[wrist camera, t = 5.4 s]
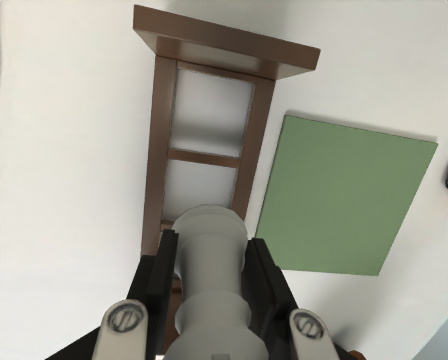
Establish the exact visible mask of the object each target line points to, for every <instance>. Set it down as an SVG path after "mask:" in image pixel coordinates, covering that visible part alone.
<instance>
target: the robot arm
mask: <svg viewBox="0 0 448 360" xmlns="http://www.w3.org/2000/svg"><path fill="white" fill-rule="evenodd" d="M178 237H179V233H175V230H173V229H164V230H163V234H162V237H161V241H160V245H159V248H158V252H157V255H156V256H155V255H142V257H141V260H140V262H139V265H138V268H137V270H136V273H135V276H134V279H133V281H132V284H131V287H130V289H129V292H128V295H127V298H126V300H122V301H120V302H117V303H115V304H114V305H112V306H111V307H110V308H109V309H108V310H107V311H106V312H105V314H104V316H103V319H102V322H101V326H99V327H98V328H96V329H94V330H93V331H91V332H89V333H88V334H86V335H85V336H83V337H81V338H80V339H78V340H76V341H75V342H73V343H71V344H70V345H68V346H66V347H65V348H63V349H62V350H60V351H58V352H57V353H55V354H53V355H52V356H50V357H48V358H47V359H45V360H155V359H156V354H162V349H163V343H164V336H165V329H166V323H167V316H168V310H169V303H170V296H171V290H172V283H173V276H174V268H175V260H176V253H177V245H178ZM244 256H245V262H244V267H243V270H242V272H241V291H242V296H243V299H244V300H245V301H246V302H247V303H248V305H249V308H250V310H251V313H252V314H251V321H250V325H249V326H248V329H249V330H250V331H252V332H253V333H254V334H255V335H257V336H258V337H259V338H260V339H261V340H263V341H264V343H265V346H266V348H267V351H268V353H269V357H268V360H358V359H357V358H355V357H354V356H352V355H351V354H350V353H348V352H347V351H345V350H344V349H343V348H341V347H340V346H338V345H337V344H335V343H334V342H333V341H332V339H331V337H330V334H329V332H328V329H327V327H326V325H325V324H324V322H323V321H322V320H321V319H320V318H319V317H318V316H317V315H316V314H314V313H313V312H311V311H309V310H306V309H299V308H298V306H297V303H296V301H295V299H294V297H293V295H292V293H291V290H290V288H289V286H288V284H287V282H286V280H285V277H284V275H283V273H282V271H281V269H280V267H279V266H276V265H275V263H274V261H273V258H272V256H271V254H270V252H269V249H268V247H267V245H266V242H265V240H264V239H263V238H252V239H251V240H248V243H247V247H246V251H245V255H244Z"/></svg>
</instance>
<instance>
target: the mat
mask: <svg viewBox="0 0 448 360" xmlns="http://www.w3.org/2000/svg"><path fill="white" fill-rule="evenodd" d="M437 146H438V144H437V143H432V142H427V141H421V140H416V139H410V138H405V137H400V136H394V135H389V134H383V133H378V132H373V131H367V130H362V129H356V128H351V127H346V126H340V125H335V124H329V123H324V122H319V121H313V120H308V119H302V118H297V117H292V116H286V115H285V117H284V121H283V125H282V129H281V133H280V137H279V141H278V145H277V149H276V153H275V157H274V161H273V165H272V169H271V173H270V177H269V181H268V186H267V190H266V194H265V198H264V202H263V206H262V210H261V214H260V218H259V222H258V226H257V230H256V234H255V238H263V239H264V240H265V242H266V245H267V247H268V249H269V252H270V254H271V256H272V258H273V261H274V263H275V265H276V266H279V267H280V269H282V270H297V271H311V272H326V273H340V274H355V275H369V276H378V274H379V272H380V270H381V268H382V266H383V263H384V261H385V259H386V257H387V255H388V253H389V250H390V248H391V246H392V244H393V242H394V240H395V237H396V235H397V233H398V231H399V229H400V227H401V224H402V222H403V220H404V218H405V216H406V214H407V211H408V209H409V207H410V205H411V203H412V201H413V198H414V196H415V194H416V192H417V190H418V188H419V185H420V183H421V181H422V179H423V177H424V175H425V172H426V170H427V168H428V166H429V164H430V162H431V159H432V157H433V155H434V153H435V151H436V149H437Z"/></svg>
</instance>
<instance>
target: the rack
mask: <svg viewBox="0 0 448 360" xmlns="http://www.w3.org/2000/svg"><path fill="white" fill-rule="evenodd" d="M133 30H134V31H135V32H136V33H137V34H138V35H139V36H140V37H141V39H142V40H143V41H144V42H145V43H146V44H147V45H148V47H149V48H150V49H151V50H152V51H153V52H154V53H155V54H156V56H155V70H154V83H153V96H152V110H151V123H150V136H149V150H148V163H147V176H146V190H145V203H144V216H143V230H142V243H141V256H140V260H141V257H142V255H155V256H156V255H157V252H158V248H159V241H160V231H161V232H163V230H164V229H172V227H173V225H174V223H175V221H167V220H162V211H163V201H164V192H165V182H166V172H167V162H168V159H174V160H181V161H189V162H196V163H203V164H210V165H217V166H224V167H231V168H237V172H236V177H235V182H234V187H233V192H232V197H231V202H230V207H229V209H230V210H232V211H234V212H235V213H236V214H237V215H238V216H239V217H240V218H241V219H242V220H243V222H244V220H245V216H246V211H247V207H248V202H249V198H250V194H251V189H252V185H253V180H254V176H255V171H256V167H257V163H258V158H259V154H260V149H261V145H262V140H263V136H264V131H265V127H266V123H267V118H268V114H269V109H270V105H271V100H272V96H273V91H274V87H275V83H276V81H275V80H278V79H282V78H286V77H290V76H294V75H298V74H302V73H305V72H309V71H313V70H315V69H316V66H317V62H318V58H319V55H320V51H321V49H318V48H314V47H310V46H306V45H302V44H298V43H293V42H289V41H285V40H281V39H277V38H273V37H269V36H265V35H260V34H256V33H252V32H248V31H244V30H240V29H236V28H231V27H227V26H223V25H219V24H215V23H211V22H207V21H202V20H198V19H194V18H190V17H186V16H182V15H178V14H173V13H169V12H165V11H161V10H157V9H153V8H149V7H144V6H140V5H134V16H133ZM177 68H178V69H182V70H186V71H191V72H196V73H201V74H206V75H211V76H216V77H221V78H226V79H231V80H236V81H240V82H245V83H250V84H254V86H253V91H252V96H251V101H250V106H249V111H248V116H247V121H246V126H245V131H244V136H243V141H242V146H241V151H240V157H232V156H225V155H218V154H212V153H205V152H198V151H191V150H185V149H178V148H171V147H169V143H170V133H171V123H172V113H173V104H174V94H175V84H176V74H177ZM181 304H182V286H181V279H180V278H173V283H172V290H171V296H170V303H169V310H168V316H167V323H166V329H165V336H164V343H163V349H162V354H156V359H155V360H162V359H163V357H164V356H165V354H166V352H167V350H168V349H169V347H170V345H171V344H172V343H173V342H174V341H175V340H176V339H177V338H178V337H179V336H180V334H179V333H178V331H177V329H176V327H175V314H176V313H177V311H178V309H179V307H180V305H181Z"/></svg>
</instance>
